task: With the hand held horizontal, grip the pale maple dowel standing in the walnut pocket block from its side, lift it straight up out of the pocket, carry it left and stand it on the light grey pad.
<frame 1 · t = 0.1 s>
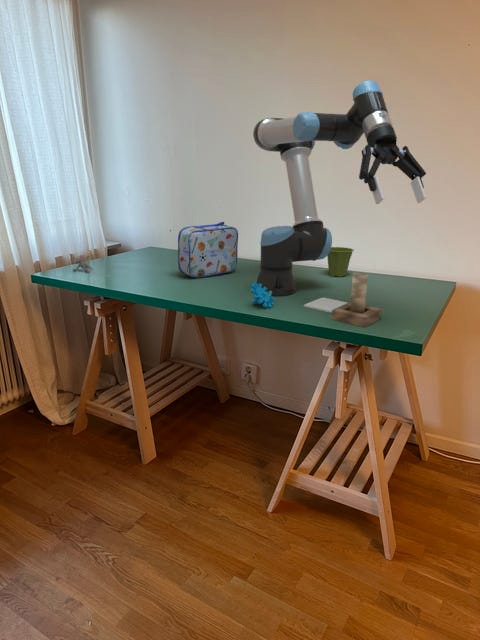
hand: (401, 201, 119), 36 cm above the table, tool tilted 35°, fingers open, 13 cm apart
gear: (262, 306, 151), on the table
dowel: (358, 296, 136), in the pocket block
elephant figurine: (85, 271, 198), on the table
pad: (328, 306, 150), on the table
pocket block: (356, 318, 138), on the table
plant pot: (337, 275, 193), on the table
lunch box: (210, 274, 193), on the table
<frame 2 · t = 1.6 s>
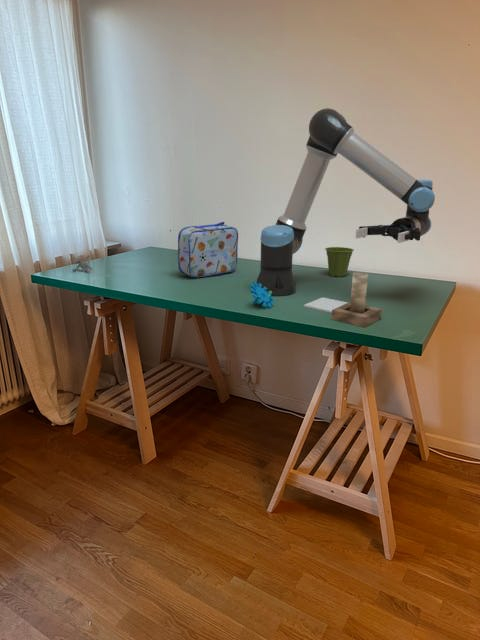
hand: (377, 236, 137), 24 cm above the table, tool horizontal, fingers open, 13 cm apart
nothing on the table moved.
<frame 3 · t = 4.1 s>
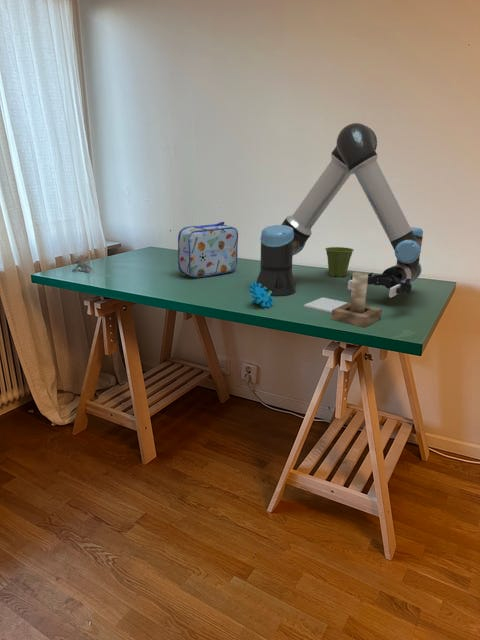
hand: (369, 289, 139), 8 cm above the table, tool horizontal, fingers open, 13 cm apart
nothing on the table moved.
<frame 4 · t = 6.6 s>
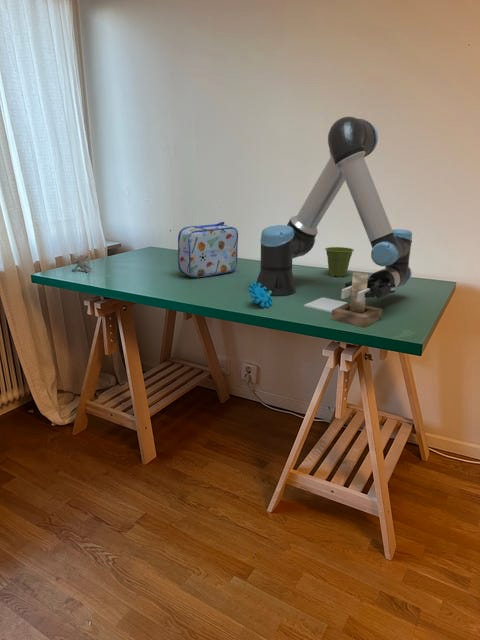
hand: (350, 295, 131), 8 cm above the table, tool horizontal, fingers closed on dowel, 4 cm apart
dowel: (358, 296, 136), in the pocket block, touching gripper
everything else where it was.
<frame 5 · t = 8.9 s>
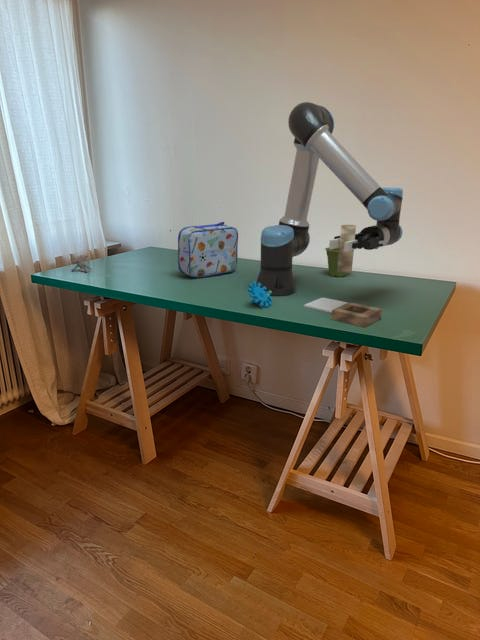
hand: (337, 245, 134), 22 cm above the table, tool horizontal, fingers closed on dowel, 4 cm apart
dowel: (346, 248, 138), point 20 cm above the table, touching gripper
when the fingers open (11 cm above the table, at t = 11.7 s): dowel drops 2 cm, resting on pad.
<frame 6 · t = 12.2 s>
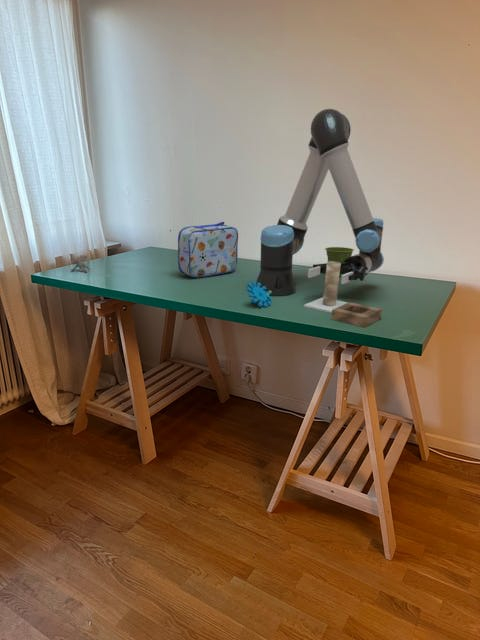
hand: (325, 276, 144), 11 cm above the table, tool horizontal, fingers open, 11 cm apart
dowel: (331, 283, 148), on the pad, point 8 cm above the table
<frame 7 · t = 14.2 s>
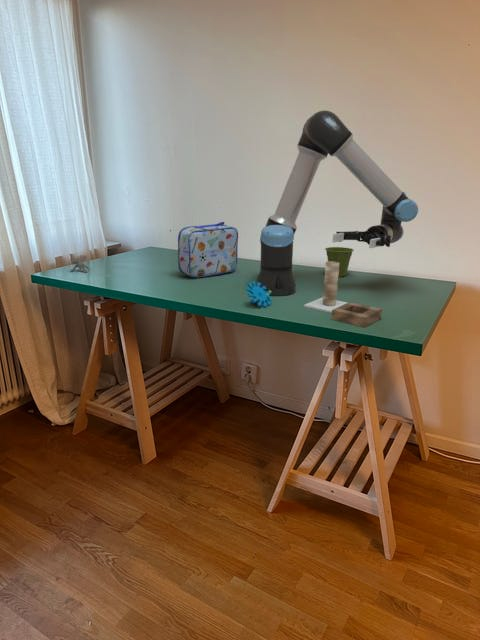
hand: (351, 241, 150), 21 cm above the table, tool horizontal, fingers open, 13 cm apart
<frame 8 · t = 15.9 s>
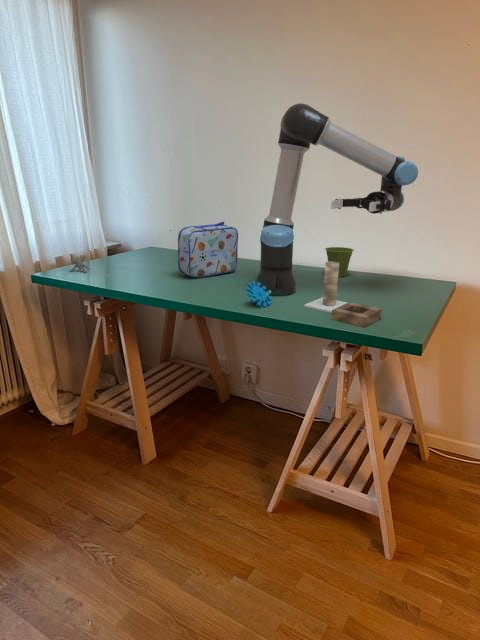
hand: (350, 205, 147), 32 cm above the table, tool horizontal, fingers open, 13 cm apart
at the end: dowel inside the target area on the pad (0.1 cm from its centre), point 7.6 cm above the pad's base; dowel tilted 1°; dowel touching pad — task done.
